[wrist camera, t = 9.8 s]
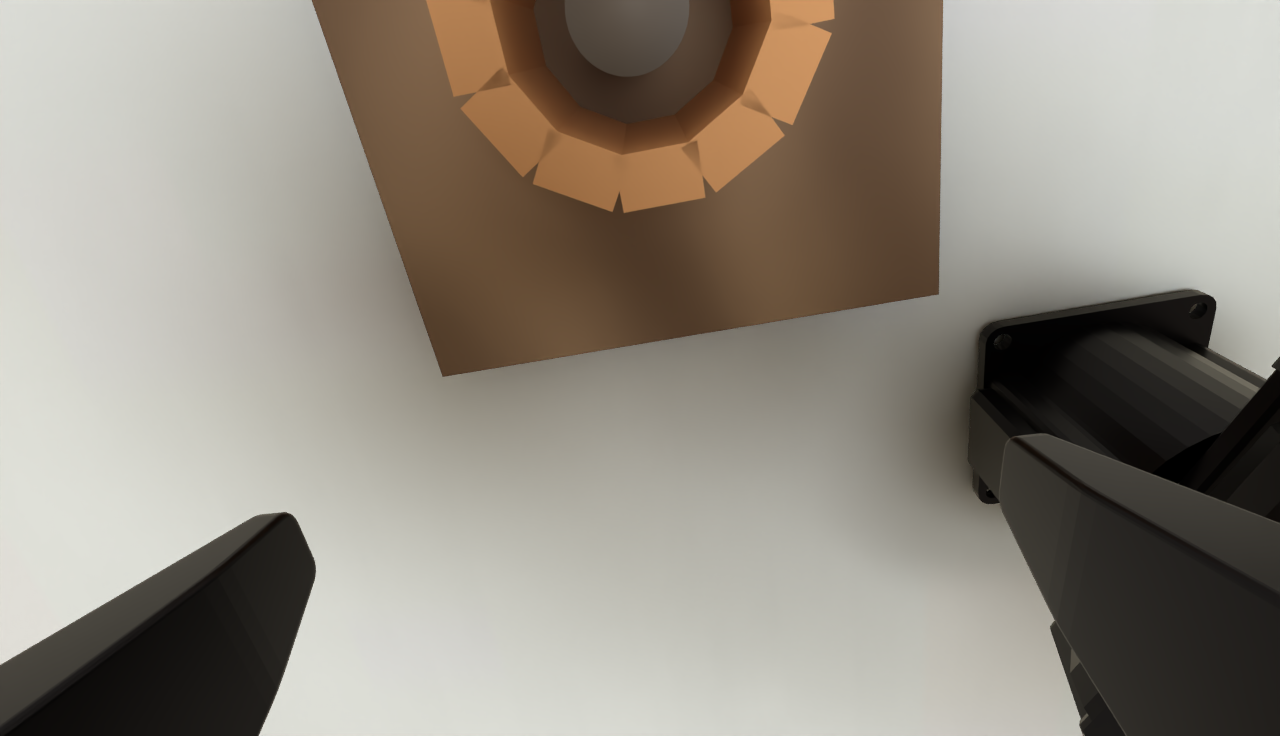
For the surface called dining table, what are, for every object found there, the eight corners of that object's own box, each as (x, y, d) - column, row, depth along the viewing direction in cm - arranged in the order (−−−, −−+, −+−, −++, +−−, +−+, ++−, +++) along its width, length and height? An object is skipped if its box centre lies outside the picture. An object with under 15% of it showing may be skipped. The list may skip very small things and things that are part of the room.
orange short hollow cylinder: (758, -189, 14) (817, -304, 9) (786, 136, 16) (842, 171, 12) (456, -119, 14) (369, -194, 10) (532, 185, 17) (493, 237, 12)
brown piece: (918, -525, 13) (1161, -1020, 7) (917, 277, 19) (1037, 377, 14) (223, -344, 14) (-88, -632, 8) (455, 355, 21) (382, 478, 15)
